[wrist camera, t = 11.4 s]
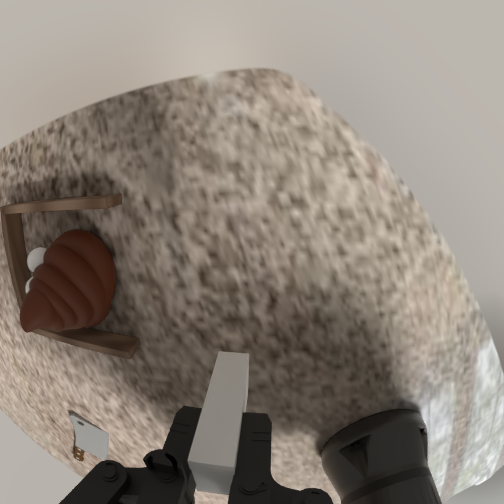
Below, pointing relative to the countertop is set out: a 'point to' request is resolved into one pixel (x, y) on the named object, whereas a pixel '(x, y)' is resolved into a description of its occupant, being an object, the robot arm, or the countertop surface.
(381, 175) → the countertop surface
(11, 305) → the countertop surface
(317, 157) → the countertop surface
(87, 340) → the walnut corral
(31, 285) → the poop emoji
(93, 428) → the kitchen cleaver
